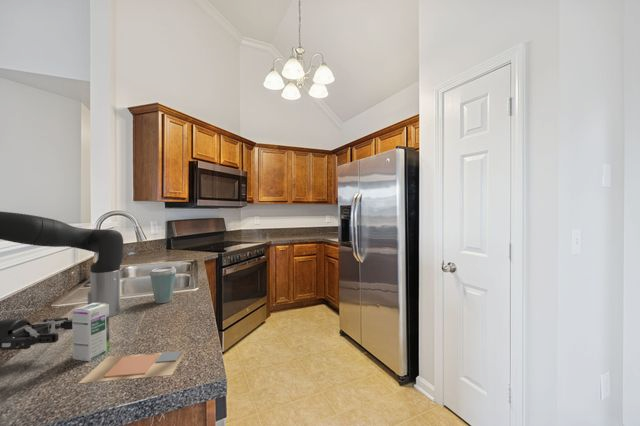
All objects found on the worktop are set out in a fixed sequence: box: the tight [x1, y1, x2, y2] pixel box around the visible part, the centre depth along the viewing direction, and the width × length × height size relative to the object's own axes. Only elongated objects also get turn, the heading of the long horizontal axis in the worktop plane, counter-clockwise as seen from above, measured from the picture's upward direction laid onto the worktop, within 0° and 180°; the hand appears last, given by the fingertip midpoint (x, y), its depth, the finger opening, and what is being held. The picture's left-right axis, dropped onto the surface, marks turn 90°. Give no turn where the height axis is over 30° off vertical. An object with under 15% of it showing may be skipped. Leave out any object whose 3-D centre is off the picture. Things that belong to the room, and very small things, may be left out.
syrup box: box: [71, 303, 110, 362], centre depth 77 cm, size 6×6×14 cm
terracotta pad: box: [104, 354, 159, 378], centre depth 72 cm, size 9×9×1 cm
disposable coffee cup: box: [149, 265, 177, 304], centre depth 127 cm, size 11×11×15 cm
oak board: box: [77, 350, 187, 385], centre depth 72 cm, size 20×12×1 cm, turn 100°
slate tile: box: [156, 350, 183, 363], centre depth 76 cm, size 5×5×1 cm
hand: (69, 330), depth 76 cm, fingers open, 8 cm apart
